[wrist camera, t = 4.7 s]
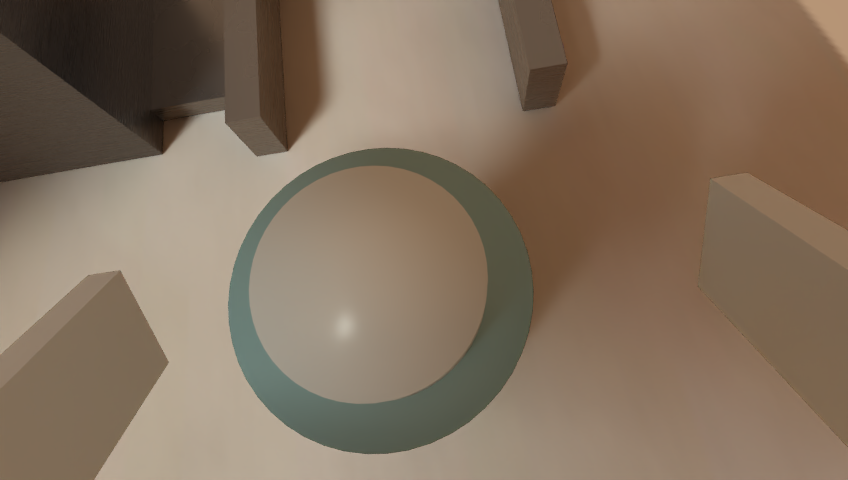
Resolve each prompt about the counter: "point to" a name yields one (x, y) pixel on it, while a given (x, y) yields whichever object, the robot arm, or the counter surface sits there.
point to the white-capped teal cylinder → (380, 301)
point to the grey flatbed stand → (177, 75)
